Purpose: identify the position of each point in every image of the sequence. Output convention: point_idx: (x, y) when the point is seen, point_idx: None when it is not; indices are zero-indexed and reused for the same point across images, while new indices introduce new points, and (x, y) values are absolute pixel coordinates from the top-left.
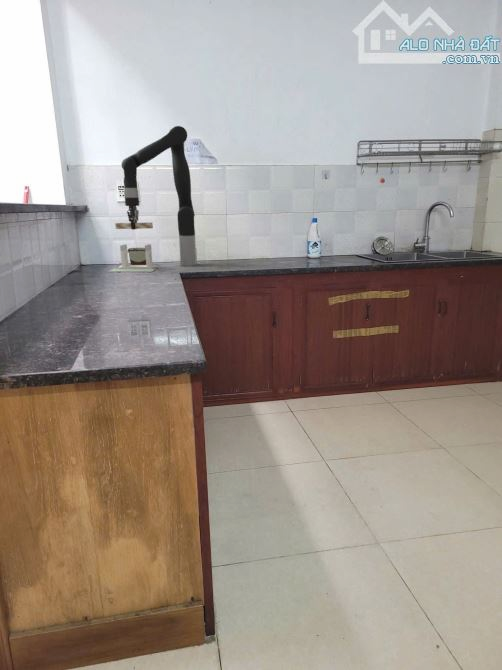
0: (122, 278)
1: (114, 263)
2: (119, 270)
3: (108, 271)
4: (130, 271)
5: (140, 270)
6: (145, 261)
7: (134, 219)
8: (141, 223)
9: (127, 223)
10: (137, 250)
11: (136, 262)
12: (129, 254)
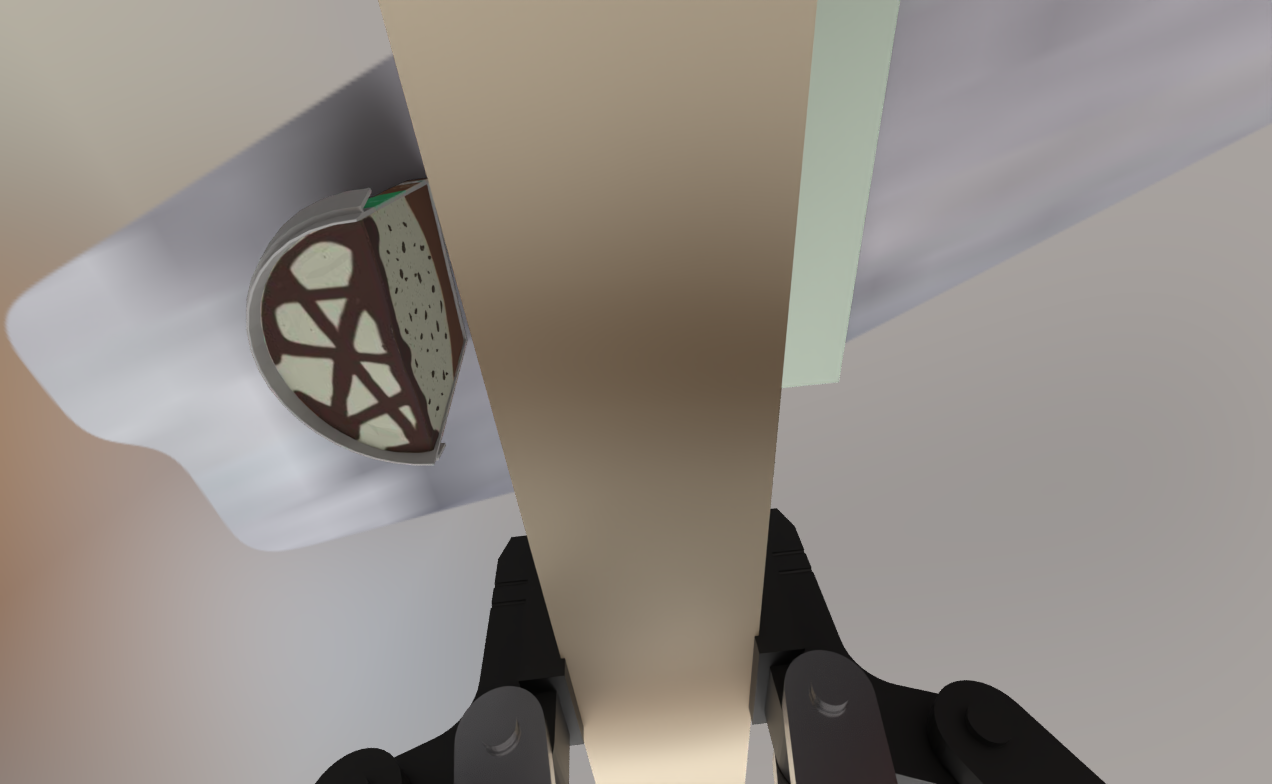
0: (1242, 112)
1: (376, 514)
2: (803, 313)
3: (838, 379)
4: (868, 188)
5: (825, 95)
6: (416, 201)
7: (876, 770)
8: (771, 444)
9: (743, 750)
10: (404, 349)
11: (446, 302)
12: (444, 412)
